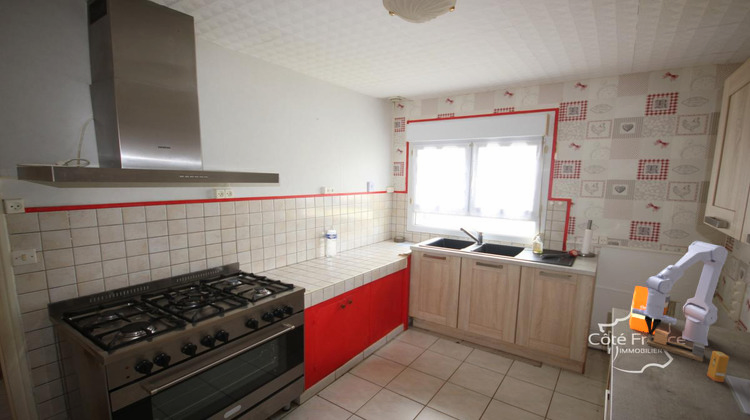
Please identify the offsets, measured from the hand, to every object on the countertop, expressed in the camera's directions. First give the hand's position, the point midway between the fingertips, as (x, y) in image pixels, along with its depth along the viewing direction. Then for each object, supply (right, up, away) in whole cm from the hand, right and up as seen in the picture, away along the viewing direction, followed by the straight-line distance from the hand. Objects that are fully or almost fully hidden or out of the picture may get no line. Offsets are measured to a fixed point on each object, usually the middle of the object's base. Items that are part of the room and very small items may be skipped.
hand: (650, 333), depth 140 cm
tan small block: (+2, -2, -2) cm, 4 cm away
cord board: (+6, -5, -5) cm, 9 cm away
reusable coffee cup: (+16, -1, +20) cm, 25 cm away
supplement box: (+3, -8, -23) cm, 25 cm away
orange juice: (+6, -2, +12) cm, 14 cm away
